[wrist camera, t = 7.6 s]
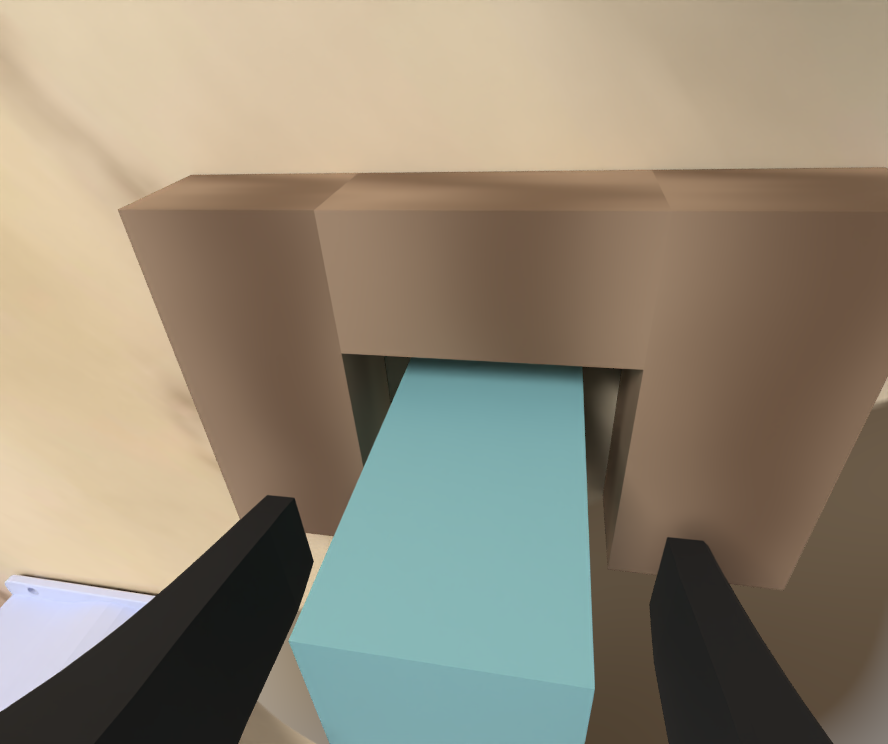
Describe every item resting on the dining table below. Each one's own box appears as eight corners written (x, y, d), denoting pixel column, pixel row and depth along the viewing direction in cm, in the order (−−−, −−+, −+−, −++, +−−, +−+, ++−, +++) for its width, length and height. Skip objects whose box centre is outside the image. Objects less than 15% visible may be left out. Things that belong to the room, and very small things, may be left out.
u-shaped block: (280, 463, 17) (242, 524, 15) (191, 174, 12) (118, 209, 10) (754, 509, 15) (783, 590, 13) (885, 167, 10) (968, 212, 8)
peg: (431, 455, 16) (338, 765, 10) (419, 338, 14) (288, 640, 7) (569, 467, 15) (571, 812, 9) (581, 345, 13) (595, 689, 7)
